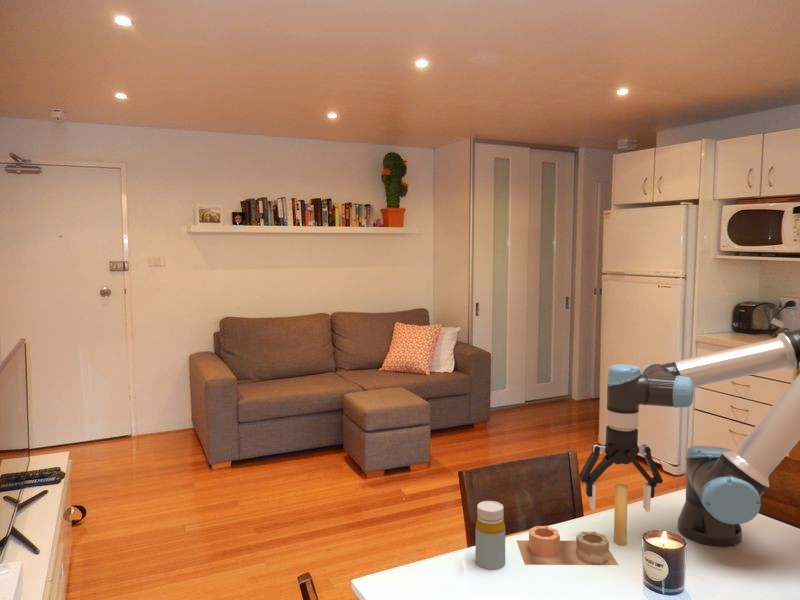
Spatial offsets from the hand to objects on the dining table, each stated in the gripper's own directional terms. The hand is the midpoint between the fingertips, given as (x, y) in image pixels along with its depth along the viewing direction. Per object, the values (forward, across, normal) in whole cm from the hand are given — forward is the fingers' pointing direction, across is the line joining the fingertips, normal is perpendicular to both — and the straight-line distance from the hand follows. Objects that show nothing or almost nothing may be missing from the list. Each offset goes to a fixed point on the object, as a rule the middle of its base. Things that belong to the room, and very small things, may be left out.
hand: (619, 509), depth 152 cm
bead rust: (+9, +20, +4) cm, 22 cm away
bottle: (+11, +34, +10) cm, 37 cm away
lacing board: (+10, +14, +5) cm, 18 cm away
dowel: (+10, 0, 0) cm, 10 cm away
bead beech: (+9, +8, +7) cm, 14 cm away
